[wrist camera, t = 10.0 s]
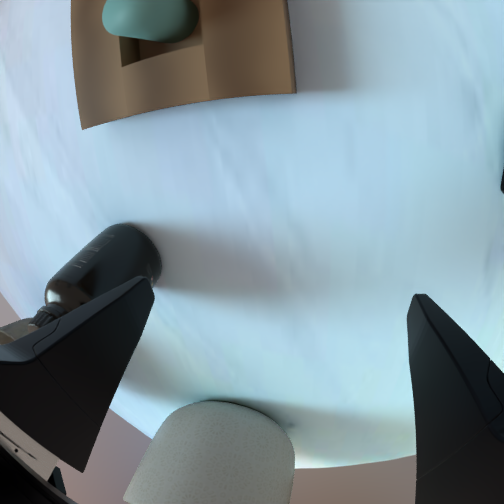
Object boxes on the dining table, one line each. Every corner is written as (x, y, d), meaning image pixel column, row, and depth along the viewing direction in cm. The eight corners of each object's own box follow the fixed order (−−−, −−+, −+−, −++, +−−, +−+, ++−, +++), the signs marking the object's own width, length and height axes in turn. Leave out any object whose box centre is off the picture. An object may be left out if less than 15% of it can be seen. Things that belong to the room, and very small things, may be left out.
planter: (329, 412, 32) (307, 549, 16) (278, 452, 43) (256, 540, 28) (172, 363, 33) (107, 494, 17) (170, 418, 45) (133, 503, 29)
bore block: (276, -64, 9) (268, -84, 6) (296, 93, 15) (291, 93, 13) (96, -8, 12) (71, -13, 10) (108, 122, 18) (81, 130, 16)
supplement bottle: (104, 268, 27) (30, 350, 17) (103, 211, 23) (5, 292, 13) (161, 295, 27) (95, 395, 17) (169, 238, 23) (78, 347, 13)
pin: (196, -8, 12) (156, -32, 8) (200, 36, 13) (159, 22, 9) (149, 7, 12) (101, -7, 8) (152, 49, 14) (103, 44, 10)
